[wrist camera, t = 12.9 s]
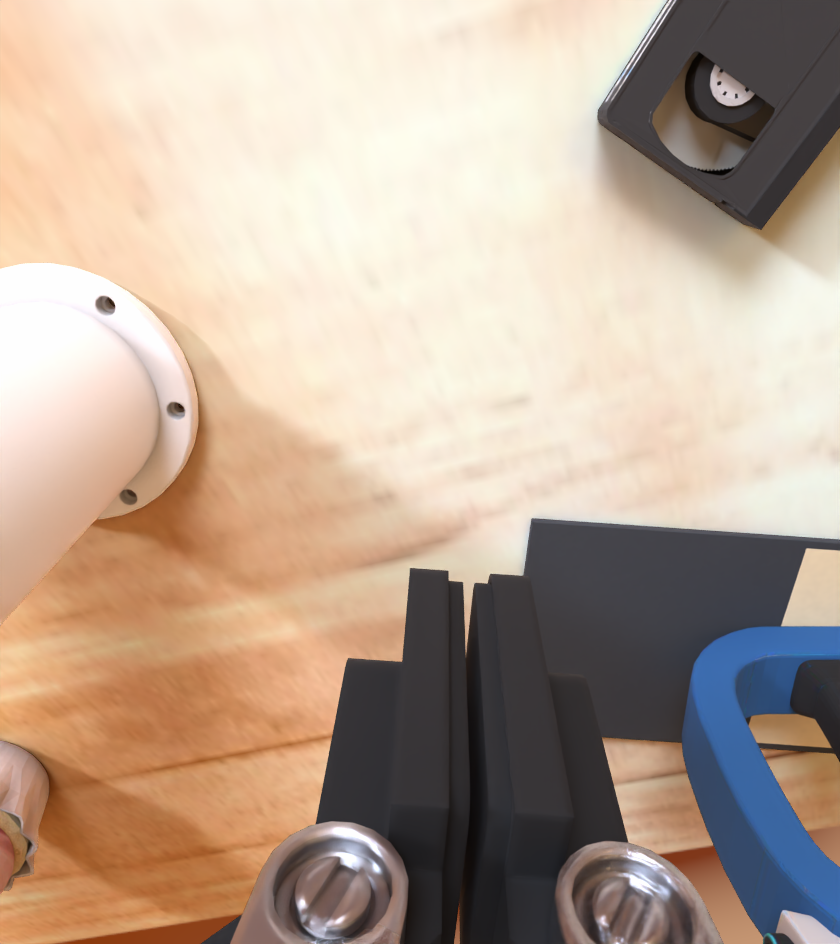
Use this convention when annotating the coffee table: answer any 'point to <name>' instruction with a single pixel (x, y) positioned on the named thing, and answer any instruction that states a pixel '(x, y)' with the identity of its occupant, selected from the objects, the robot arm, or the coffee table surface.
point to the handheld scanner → (764, 773)
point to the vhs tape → (733, 97)
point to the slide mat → (671, 614)
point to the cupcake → (19, 811)
